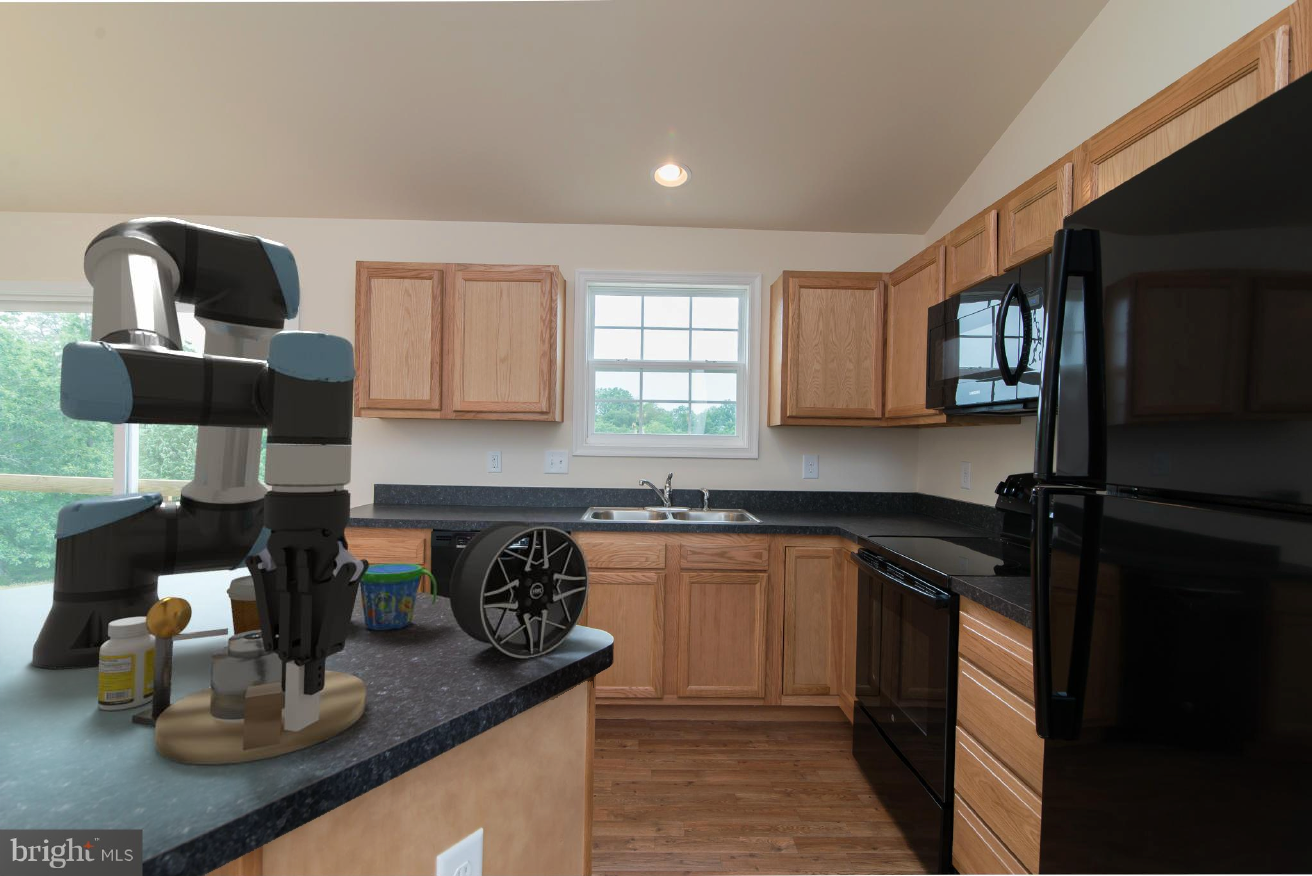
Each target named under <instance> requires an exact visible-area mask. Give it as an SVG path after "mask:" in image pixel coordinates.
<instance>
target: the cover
mask: <svg viewBox="0 0 1312 876" xmlns="http://www.w3.org/2000/svg"><path fill="white" fill-rule="evenodd" d="M276 637H279V635H276ZM227 642H228V643H227V644H228V645H227V646H226V647H223V648H221V649H219V650H217V651H215V652H214V653H213V654H212V656H211V673H210V674H211V676H210V687H211V694H210V714H211V716H213V717H215V718H219V719H227V720H236V719H244V713H245V696H246V693H247V689H248V687H251V686H258V685H265V684H272V683H280V682H281V681H282V680H281V679H282V660H280V659H279V657H278V654H276V653H275V652H273V651H272V652H266V651H265V650H264V646H263V640H262V634H261V630H254V631H248V632H243V633H239V634H236V635H234V634H233V635H231V636H230V637H228V641H227ZM283 708H285V692H284V691H283V696H282V709H283Z"/></svg>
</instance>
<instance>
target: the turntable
mask: <svg viewBox="0 0 1312 876" xmlns="http://www.w3.org/2000/svg"><path fill="white" fill-rule="evenodd" d="M324 676H325V679H324V680H325V685H324V688H323V690H321V691H320V693H319V720H317V721H315V722H314V723H312V724H310V725H308V726H306V727H305V728H303V729H301V730H299V731H297V732H296V731H290V730H284V723H285V708H283V709H282V696H283V690H282V687H281V682H280V683H272V684H265V685H258V686H251V687H248V689H247V693H246V696H245V713H244V719H236V720H227V719H219V718H215V717H213V716H211V714H210V694H211V686H210V687H207V688H204V689H202V690H199V691H197V692H196V691H195V692H194V693H191V694H190V695H188V696H187V695H186V696H185V697H183V698H181V699H179V700H178V701H176V702H174V703H171V704H172V705H171V706H170V707H168V708H167V709H166V710H165V711H163V712H162V713H161V714H160V716H159V717H158V719H157V721H156V727H155V736H154V746H155V749H156V751H157V752H158V753H159V754H161V756H163V757H165V758H167V759H168V760H171V761H172V760H173V761H176V762H180V763H181V762H182V763H187V764H196V765H197V764H198V765H221V764H223V765H224V764H225V765H226V764H234V763H243V762H244V763H245V762H250V761H251V762H252V761H258V760H262V759H263V760H264V759H267V758H273V757H277V756H281V755H284V754H289V753H293V752H295V751H299V750H301V749H302V750H303V749H305V748H308V747H310V746H311V747H312V746H313V745H315V744H318V743H321V742H323V741H326V740H328V739H331V738H332V737H334V736H336V735H338V734H340V733H342V732H343V731H345V730H347V729H349V728H350V727H351V726H352V725H354V724H355V723H357V722H358V720H359V719H360V718H361V717H362V716H363V714H364V713H365V710H366V702H367V700H366V699H367V686H366V684H365V682H364V681H363V680H362V679H360V678H359V677H358V676H355V675H352V674H349V673H345V672H340V671H335V670H325V675H324Z"/></svg>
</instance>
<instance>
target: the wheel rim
mask: <svg viewBox="0 0 1312 876" xmlns="http://www.w3.org/2000/svg"><path fill="white" fill-rule="evenodd" d="M524 539H528V544H527V547H526V550H525V551H524V552H525V553H524V555H521V554H518V553H516V552H514V551H512V550H510V549H509V548H511V546H513V545H515V543H517V542H520V541H522V540H524ZM536 542H539V543H540V544H539V545H540V546H539V547H540V549H539V558H538V559H536V560H532V559H533V556H534V552H535V548H536ZM504 553H505V554H508V555H510V556H513V557H515V558H517V559H520V560H521V561H520V562H519V564H518V566H517V567H516V571H517V572H519V575H517V574H511V575H510V576H508V575H507V572H506V570H505V567H504V565H503V563H502V561H501V558H500V557H501V556H502V555H503V554H504ZM549 561H550V563H549ZM496 563H497V566H498V568H499V571H500V573H501V576H502V578H503V580H504V581H502V582H501V583H500V584H498V585H496V586H494V587H491V588H487V586H488V582H489V578H490V575H491V573H492V570H493V568H494V567H495V565H496ZM550 566H551V568H549V567H550ZM589 577H590V576H589V568H588V563H587V558H586V556H585V554H584V552H583V549H582V547H581V546H580V545H579V543H578V542H577V540H575V538H574V537H573V536H571V535H570V534H569V533H567V531H565V530H564V529H563V530H562V529H561V528H558V527H555V526H549V525H543V524H542V525H539V524H538V525H531V524H528V523H526V522H522V521H516V520H506V521H500V522H497V523H493V524H491V525H488V527H485V528H483V529H482V530H480V532H478V533H476V534H475V535H474V536H473V537H472V538H471V539H470V540H469V542H467V543H466V545H465V546H464V547H463V549H462V550H461V552H460V553H459V556H458V557H457V559H456V561H455V564H454V566H453V570H452V573H451V577H450V581H449V582H450V583H449V596H448V597H449V601H450V602H449V603H450V608H451V611H452V615H453V617H454V619H455V621H456V623H457V625H458V626H459V628H461V630H462V631H463V633H465V634H466V635H467V636H468V637H470V638H472V639H474V640H475V641H478V642H481V643H484V644H489V645H491V646H492V647H493V648H495V649H496V650H498V652H501V653H502V654H505V655H507V656H509V657H513V658H515V659H524V658H525V659H529V658H528V657H531V656H535V655H539V654H541V653H546V652H548V653H549V652H551V651H553V650H554V649H556V648H557V647H558V646H559V645H561V644H562V643H563V642H564V641H565V640H566V639H567V638H568V637H569V636H570V634H572V632H573V631H574V629H575V627H576V626H577V625H578V623H579V621H580V619H581V617H582V614H583V612H584V609H585V606H586V602H587V598H588V594H589V588H590V579H589ZM506 590H507V592H508V595H507V596H508V597H507V600H506V601H495V602H486V596H487V597H488V596H491V595H495V594H500V593H502V592H504V591H506ZM487 609H501V610H502V613H501V615H500V617H499V620H498V623H497V624H496V626H495V628H494V627H493V625H492V624H491V622H490V619H489V617H488V615H487ZM508 611H511V612H515V617H516V619H517V621H518V623H519V626H517V627H516V628H515V629H513V630H511V632H509V633H504V634H499V633H500V630H501V628H502V625H503V623H504V621H505V619H506V616H507V615H508ZM529 615H530V616H529ZM546 654H547V653H546Z"/></svg>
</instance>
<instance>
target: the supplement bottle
mask: <svg viewBox="0 0 1312 876" xmlns="http://www.w3.org/2000/svg"><path fill="white" fill-rule="evenodd" d="M108 636H109V637H111V639H110V640H108V641H107V642H105V643H104V644H103V645H102V646H101V648H100V654H99V665H98V685H97V686H98V687H97V688H98V689H97V693H98V694H97V705H98V708H99V709H101V710H103V711H110V712H111V711H122V710H127V709H131V708H135V707H139V706H143V705H144V704H147V703H149V702H152V701H153V680H154V658H155V636H153V635H150V634H149V632H148V630H147V628H146V617H131V618H124V619H120V620H116V621H113V622H110V623H109V626H108Z"/></svg>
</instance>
